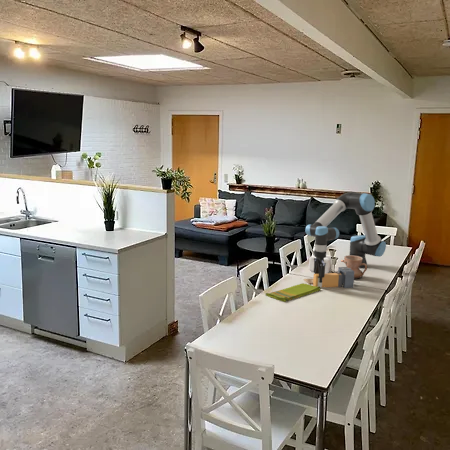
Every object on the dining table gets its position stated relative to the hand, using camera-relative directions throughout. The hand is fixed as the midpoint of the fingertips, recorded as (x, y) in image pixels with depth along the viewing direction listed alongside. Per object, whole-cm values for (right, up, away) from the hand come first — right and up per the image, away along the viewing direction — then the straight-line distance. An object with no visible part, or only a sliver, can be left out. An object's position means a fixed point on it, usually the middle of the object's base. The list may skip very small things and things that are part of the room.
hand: (318, 285), depth 298 cm
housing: (+19, 0, +4) cm, 19 cm away
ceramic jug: (+29, +3, +23) cm, 37 cm away
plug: (+6, 0, +1) cm, 6 cm away
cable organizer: (+9, +5, +35) cm, 37 cm away
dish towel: (-18, -3, -14) cm, 23 cm away
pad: (+4, +1, +11) cm, 12 cm away
